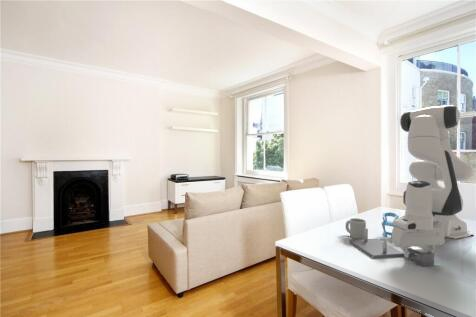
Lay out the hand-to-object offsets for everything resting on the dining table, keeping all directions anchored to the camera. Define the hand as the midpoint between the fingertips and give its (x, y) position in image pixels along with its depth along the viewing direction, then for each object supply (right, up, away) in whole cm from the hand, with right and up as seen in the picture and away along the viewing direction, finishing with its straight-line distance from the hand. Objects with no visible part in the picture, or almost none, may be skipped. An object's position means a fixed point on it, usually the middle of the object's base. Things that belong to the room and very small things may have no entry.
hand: (418, 256), depth 94 cm
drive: (0, -2, 0) cm, 2 cm away
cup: (-12, -2, +27) cm, 29 cm away
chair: (+6, -1, +27) cm, 28 cm away
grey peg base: (-10, -2, +12) cm, 16 cm away
